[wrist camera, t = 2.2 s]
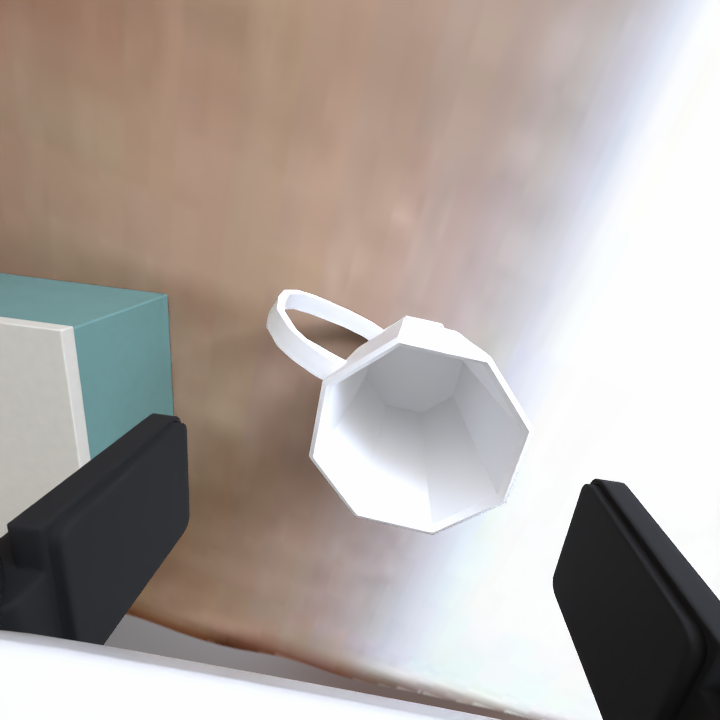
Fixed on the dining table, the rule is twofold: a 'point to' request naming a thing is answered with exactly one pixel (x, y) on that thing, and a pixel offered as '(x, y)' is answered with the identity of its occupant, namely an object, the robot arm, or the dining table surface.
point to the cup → (408, 418)
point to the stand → (73, 378)
